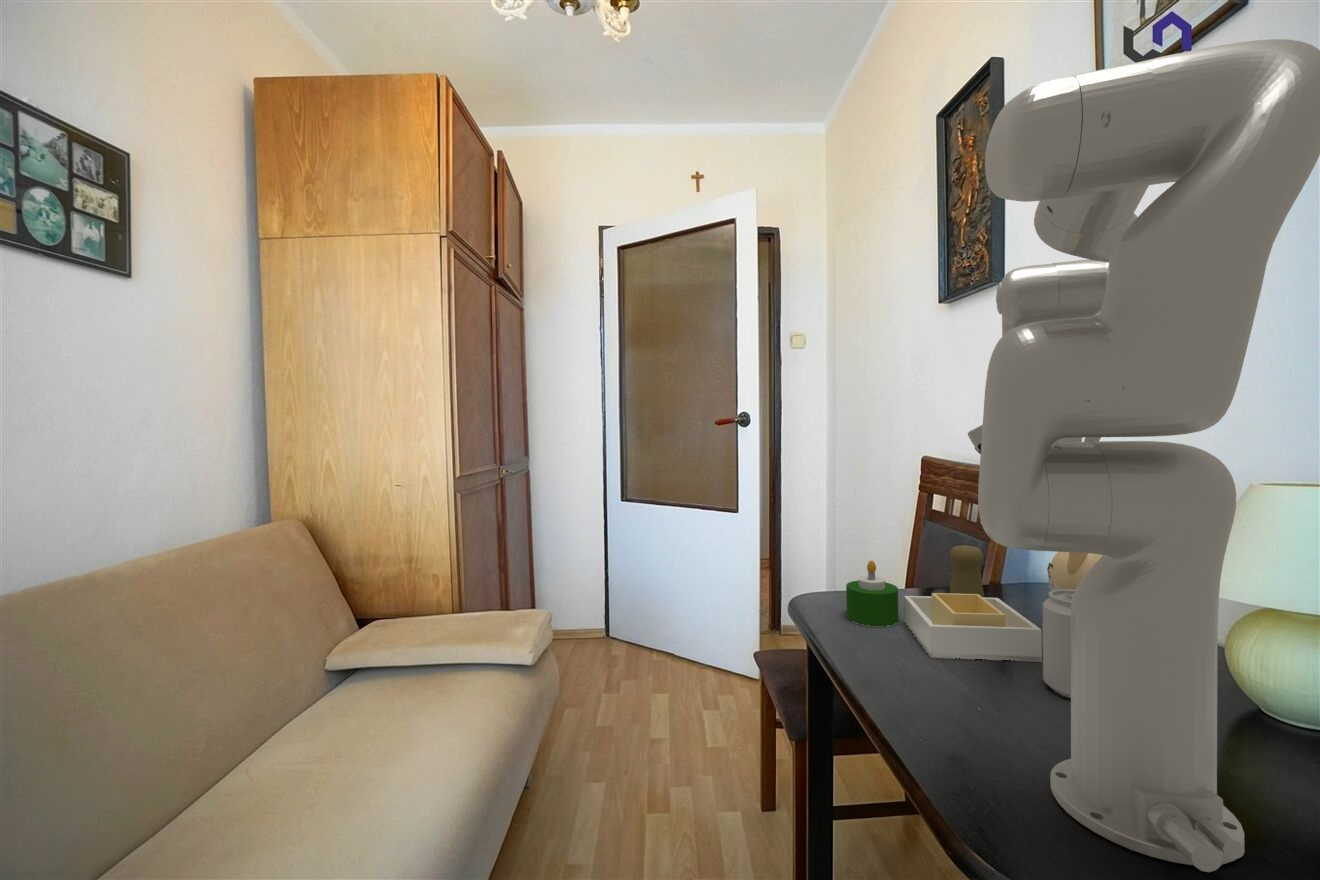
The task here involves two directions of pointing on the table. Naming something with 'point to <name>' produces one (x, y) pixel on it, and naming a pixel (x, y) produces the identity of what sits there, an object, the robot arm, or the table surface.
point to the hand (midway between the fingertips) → (1035, 489)
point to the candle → (872, 600)
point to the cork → (966, 570)
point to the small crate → (965, 610)
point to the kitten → (1069, 569)
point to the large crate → (974, 634)
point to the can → (1057, 641)
